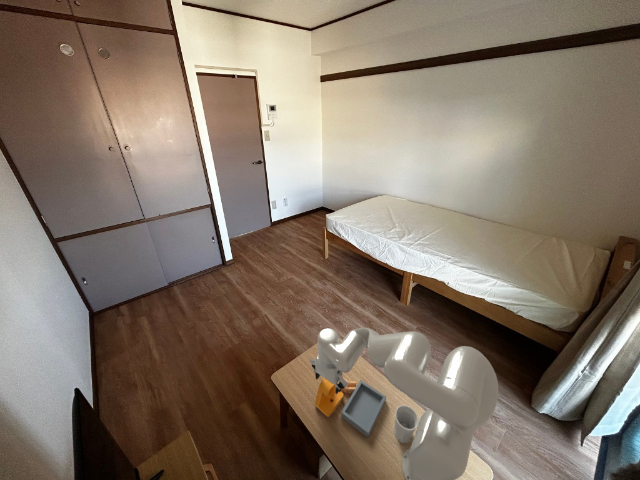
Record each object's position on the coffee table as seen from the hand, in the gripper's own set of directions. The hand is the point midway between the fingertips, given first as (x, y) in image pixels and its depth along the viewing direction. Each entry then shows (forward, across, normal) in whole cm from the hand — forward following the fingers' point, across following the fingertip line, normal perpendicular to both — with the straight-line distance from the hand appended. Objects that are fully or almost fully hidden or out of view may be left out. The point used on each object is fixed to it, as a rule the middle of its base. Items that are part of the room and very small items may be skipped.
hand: (328, 383), depth 99 cm
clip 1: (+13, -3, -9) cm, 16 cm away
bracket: (+13, -1, 0) cm, 13 cm away
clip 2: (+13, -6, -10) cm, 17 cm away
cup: (+12, -30, -7) cm, 33 cm away
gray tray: (+13, -14, -6) cm, 20 cm away
